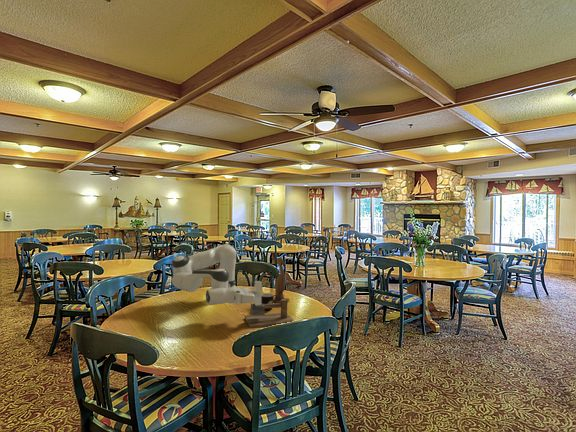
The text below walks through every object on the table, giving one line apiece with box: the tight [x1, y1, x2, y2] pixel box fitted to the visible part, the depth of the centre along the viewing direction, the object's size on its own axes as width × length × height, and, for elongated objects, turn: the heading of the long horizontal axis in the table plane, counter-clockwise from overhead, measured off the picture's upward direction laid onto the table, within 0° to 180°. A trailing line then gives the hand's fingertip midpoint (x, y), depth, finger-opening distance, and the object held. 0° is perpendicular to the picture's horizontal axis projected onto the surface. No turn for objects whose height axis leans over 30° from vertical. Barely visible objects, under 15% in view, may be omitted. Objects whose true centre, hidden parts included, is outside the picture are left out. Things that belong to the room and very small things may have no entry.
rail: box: [253, 280, 263, 307], centre depth 191 cm, size 4×4×16 cm
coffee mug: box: [261, 292, 277, 312], centre depth 214 cm, size 12×9×10 cm
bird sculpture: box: [273, 257, 290, 303], centre depth 231 cm, size 11×12×32 cm
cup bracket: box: [244, 299, 294, 329], centre depth 193 cm, size 16×26×12 cm, turn 107°
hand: (259, 293), depth 191 cm, fingers closed on rail, 4 cm apart
